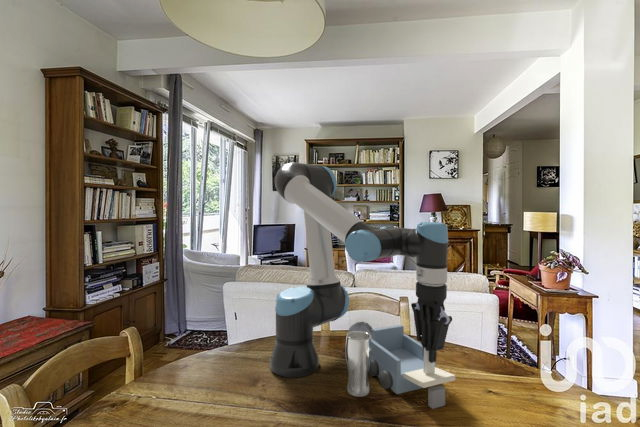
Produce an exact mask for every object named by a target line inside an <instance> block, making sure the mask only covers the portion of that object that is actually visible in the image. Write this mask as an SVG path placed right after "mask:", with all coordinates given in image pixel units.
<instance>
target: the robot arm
mask: <svg viewBox="0 0 640 427" xmlns="http://www.w3.org/2000/svg"><path fill="white" fill-rule="evenodd" d="M274 185H275V186H274V187H275V189H276V191H277V192H278V194H279V195H280V197H281V198H283V200H284V201H286V202H287V203H288V204H292V205H296V206H298V207H299V208H300V209H301V210H303V215H304V224H305V225H304V226H305V235H306V236H305V238H306V245H307V255H308V266H309V268H308V269H309V276H310V277H309V280H307V282H306V286H297V287H294V286H293V287H289V288H287V289H286V288H285V289H283V290H282V291H280V292H279V293H278V294H277V296H276V298H275V306H274V311H275V343H274V346H273V349H272V353H271V356H270V358H269V369H270V370H271V372H272V373H273V374H275V375H277V376H280V377H283V378H301V377H305V376H309V375H311V374H312V373H314V372H315V371H317V370H318V369H319V364H320V363H319V362H320V358H319V355H318V353H317V351H316V346H315V343H314V328H316V327H319V326H321V325H322V326H323V325H325V324H328V323H330V322H335V321H337V320H338V319H340V318H342V317H343V316H345V314H346V313H347V312H348V310H349V307H350V296H349V292H348V291H347V290H346V288H345V286H344V285H342V284H341V279H340V278H339V277H337V275H336V270H335V259H334V251H333V241H332V234H333V235H334V236H335V237H336V238H338V239H339V240H340V241H341V242H343V244H345V250H346V252H347V254H348V257H350V258H351V260H353V261H356V262H371V261H374V260H378V259H383V258H390V257H394V256H395V257H397V256H403V257H411V258H415V259H416V261H415V262H416V263H415V264H416V266H415V267H416V269H415V270H416V273H415V278H416V281H417V282H416V283H415V296H416V298H417V301H416V302H412V303H410V304H411V305H410V306H411V309H412V312H413V318H414V326H415V332H416V341H417V342H419V343H421V344H422V346H423V358H424V362H423V372H424V373H425V374H426V375H427V374H431V373H435V362H436V363H437V354H438V353H437V351H442V350H444V347H445V343H446V339H447V335H448V330H449V327H450V324H451V323H452V321H453V317H452V316H451V315H447V312H445V311H446V308H445V304H444V303H445V301H446V300H447V290H448V286H447V283H448V252H449V251H448V250H449V233H448V232H449V231H448V229H449V228H448V226H447V224H445V223H444V222H437V221H433V222H432V221H420V222H418V223H417V226H416V228H407V227H397V226H396V227H395V226H382V227H380V228H378V229H377V228H376V229H375V228H373V227H371V226H370V225H369V224H368V223H366V222H364V221H363V220H362V219H360V218H359V217H358V216H356V215H354V213H352V212H350V211H349V210H348V209H346V208H344V207H343V206H342V205H341V204H339V203H338V202H336V201H335V199H332V197H333V196H335V193H336V192H335V191H337V187H338V182H337V178H336V175H335V173H334V172H333V170H331V169H330V167H327V166H323V165H322V164H321V165H320V164H312V163H301V162H295V161H294V162H288V163H285V164H284V165H282V166H281V167H280V168H279V169H278V170H277V172H276V175H275V178H274Z"/></svg>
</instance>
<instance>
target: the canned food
mask: <svg viewBox="0 0 640 427" xmlns="http://www.w3.org/2000/svg"><path fill="white" fill-rule="evenodd" d="M372 329H373V327H372V325H370V324H369V323H367V322H365V321H357V322H356V323H354V324H352V325H351V326H350V327H349V328H348V330H347V333H346V335H347V334H348V333H349V332H353V331H361V332H366V333H368V334H369V335H370V336H371V339H372Z"/></svg>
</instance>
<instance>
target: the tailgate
mask: <svg viewBox="0 0 640 427" xmlns="http://www.w3.org/2000/svg"><path fill="white" fill-rule="evenodd" d="M403 375H404V378H405V379H407V380H409V381H411V382H413V383H415V384H417V385H418V386H420V387H422V388H421V389H425V388H431V387H435V386H439V385H442V384H445V383H450V382H454V381H456V375H455V374H454V373H451V372H448V371H446V370H444V369H441V368H439V367H437V366H436V367H435V373H431V374H427V375H426V374H425V373H424V372H423V369H419V370H415V371H410V372H406V373H403Z"/></svg>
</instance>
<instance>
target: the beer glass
mask: <svg viewBox="0 0 640 427" xmlns="http://www.w3.org/2000/svg"><path fill="white" fill-rule="evenodd" d="M347 333H348V332H347ZM347 333H346V335H345V336H346V339H345V360H346V367H347V373H348V374H347V375H348V376H347V377H348V381H347V386H346V391H347V393H348V394H349V395H350V396H353V397H358V398H363V397H367V395H369V394H370V391H371V390H370V384H369V375H370V374H369V368H370V363H371V353H372V351H371V336H370V335H369V334H368V333H366V332H361V331H353V332H349V333H348V334H347Z"/></svg>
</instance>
